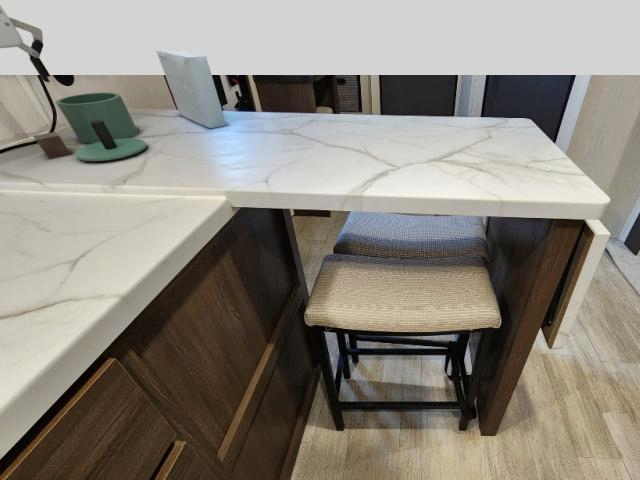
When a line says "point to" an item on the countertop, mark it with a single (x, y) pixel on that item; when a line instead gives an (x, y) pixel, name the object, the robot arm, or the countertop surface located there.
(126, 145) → the tin lid
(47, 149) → the block
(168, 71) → the skincare box
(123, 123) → the tin
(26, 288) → the countertop surface
